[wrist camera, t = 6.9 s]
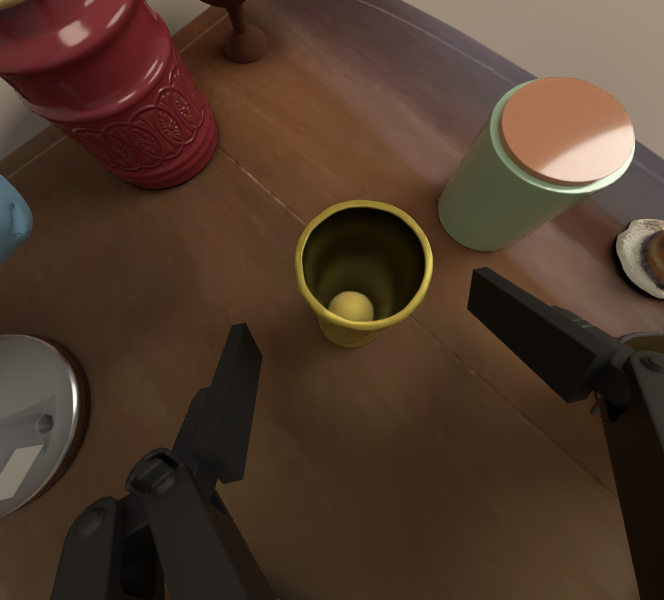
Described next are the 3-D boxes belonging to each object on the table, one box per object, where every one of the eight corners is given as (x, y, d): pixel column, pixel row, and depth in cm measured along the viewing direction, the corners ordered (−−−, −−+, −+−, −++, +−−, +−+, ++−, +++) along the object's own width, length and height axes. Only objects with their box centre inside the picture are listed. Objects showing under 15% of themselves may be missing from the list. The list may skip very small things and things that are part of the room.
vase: (315, 288, 24) (275, 198, 10) (377, 279, 24) (428, 177, 10) (322, 351, 22) (289, 353, 8) (387, 342, 22) (465, 331, 8)
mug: (419, 214, 25) (465, 134, 16) (489, 137, 26) (568, 23, 17) (494, 269, 23) (594, 217, 14) (563, 184, 25) (694, 87, 16)
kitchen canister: (243, 127, 28) (83, -238, 11) (170, 213, 26) (-174, -60, 9) (162, 80, 30) (-89, -293, 12) (87, 158, 28) (-329, -157, 11)
